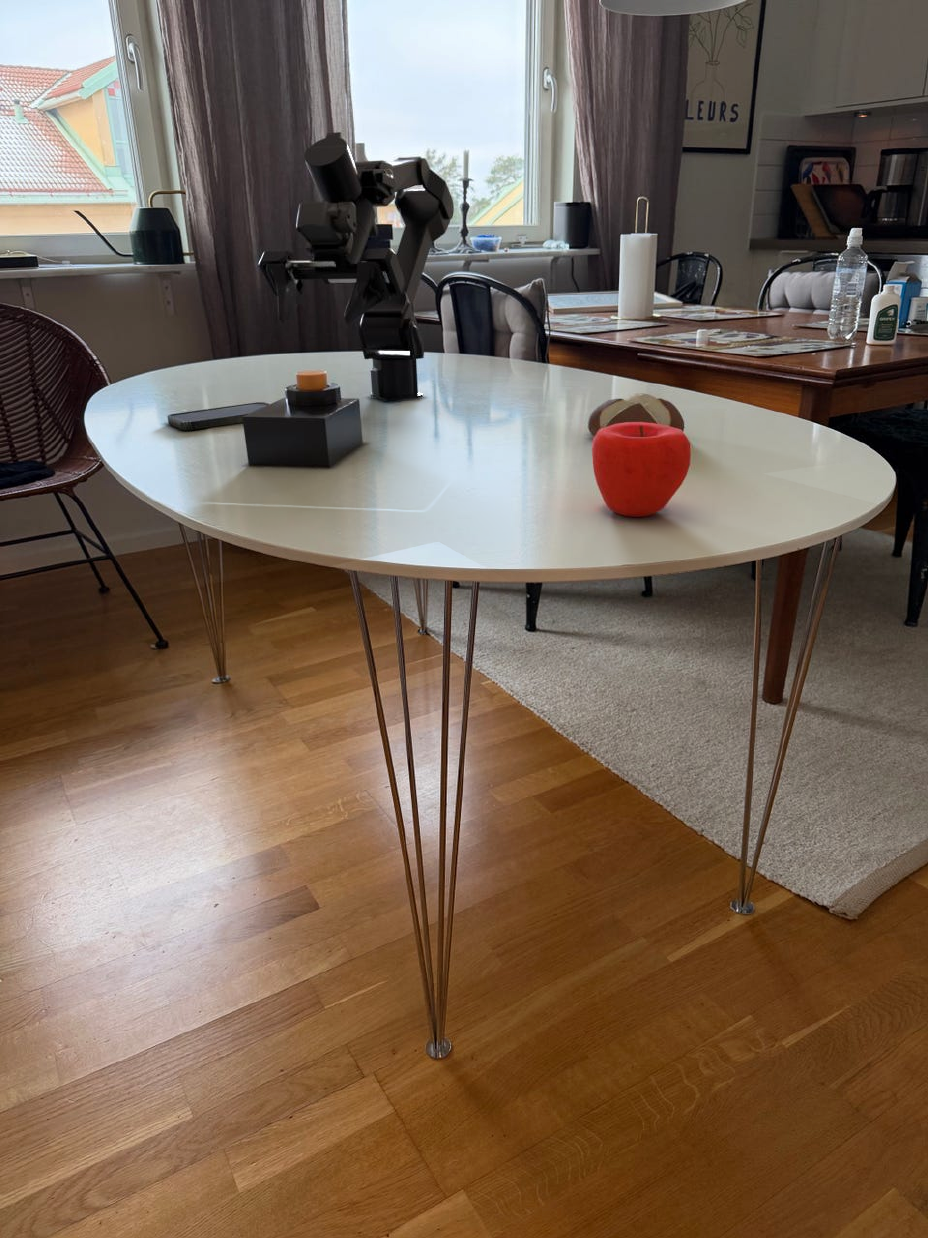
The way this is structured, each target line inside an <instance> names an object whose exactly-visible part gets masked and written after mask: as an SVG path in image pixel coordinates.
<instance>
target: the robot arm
mask: <svg viewBox="0 0 928 1238" xmlns="http://www.w3.org/2000/svg"><path fill="white" fill-rule="evenodd" d="M348 145H349V144H348V143H347V141H346V140H345V138H344V135H343V132H341V131H336V132H335V131H334V132H327V133H326V135H325V137H324V138H322V139H319V140H317V141H316V142H313V144H311V145H310V146H309V147H307V148H306V149H305V151H304V153H303V159H304V161H305V164H306V167H307V170H308V171H309V173H310V174H309V175H310V176H311V179H312V182H313V183H314V185H315V188H316V190H317V193H318V195H319V198H320V200H321V201H315V202H312V201H311V202H300V204H299V205H298V210H297V217H296V223H295V231H296V232H297V233H299V234H300V236H302V237H303V239H304V240H305V241H306V242H307V243H306V245H305V247H304V248H305V250H306V252H307V256H312V260H297V259H296V257H295V255H294V253H293V251H292V250H265V251H263V253H262V255H261V258H260V260H259V262H258V264H257V265H258V267H259V269H260V271H261V273H262V275H263V277H264V279H265V280H266V283H267V284H268V287H269V288H270V290H271V291H272V295H274V296H275V297H277V311H278V320H279V322H280V324H281V325H285V324H286V323H287V322H288V321H289V320H290V318H291V317H292V315H293V314H294V312H295V311H296V309H297V308H298V306H299V304H300V303H301V301H302V300H303V299H302V296H301V295H302V294H303V293H304V291H305V288H306V283H305V281H306V280H307V281H308V280H309V281H310V280H322V281H323V283H324V285H353V284H354V286H353V288H352V290H351V294H350V296H349V300H348V302H347V305H346V307H345V311H344V316H343V319H344V322H345V324H347V325H351V323H353V322H354V321H355V320H357V319H359V318H360V317H361V319H360V320H359V322H358V336H359V337H358V338H359V341H360V346H361V350H362V354H363V358H364V360H372V368H370V380H371V382H370V383H371V393H370V397H371V398H374V399H378V400H380V401H384V402H388V403H389V402H397V401H404V400H411V399H419V398H423V397H424V394H423V393H421V392H419V385H418V383H419V382H418V366H417V363H418V362H417V360H421V359H424V358H425V351H426V349H425V348H426V347H425V346H426V345H425V344H426V343H425V340H424V338H423V335H422V333H421V331H420V329H419V326H418V322H417V319H416V316H415V314H414V311H413V309H412V308H413V304H414V302H415V298H416V295H417V292H418V289H419V286H420V283H421V279H422V277H423V272H424V269H425V266H426V263H427V259H428V256H429V253H430V251H431V250H430V249H431V247H432V244H433V243H434V242H435V241H437V240H438V239H440V238H441V237H442V236H443V235H445V234H446V232H447V230H448V228H449V225H450V223H451V220H452V219H453V218H454V214H455V213H454V212H455V205H454V200H453V197H452V194H451V191H450V189H449V187H448V183H447V182H446V181H445V180H444V179H443V178H442V177H441V176H440V175H438V174H437V173H436V172H435V171H433V170H432V169H431V166H430V164H429V162H428V159H426V157H425V158H424V157H422V156H419V155H418V156H406V157H405V156H404V157H403V156H402V157H398V158H397V159H394V160H392V161H386V160H383V159H382V160H381V159H380V160H365V161H364V160H363V161H354V158H353V157H352V154H351V151H350V148H349V146H348ZM415 186H417V187H418V186H422V188H423V189H411V188H413V187H415ZM407 189H408V190H407ZM392 202H394V205H395V208H396V210H397V212H398V214H399V216H400V219H401V222H402V225H403V230H402V234H401V236H400V237H401V238H400V241H399V243H398V246H397V250H396V252H395V251H394V249H393V248H391V247H390V248H389V247H383V248H382V247H381V248H379V247H377V248H366V245H367V242H368V239H369V238H376V237H378V236H379V230H378V225H377V224H376V221H375V220H376V214H377V213H376V210H375V208H378V207H379V208H382V207H388V206H389V205H390V204H392ZM407 350H408V351H407Z"/></svg>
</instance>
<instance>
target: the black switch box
mask: <svg viewBox="0 0 928 1238" xmlns="http://www.w3.org/2000/svg"><path fill="white" fill-rule="evenodd" d="M284 395H285V397H283V398H281V399H279V400H278V399H277V400H276V401H273V402H271V403H269V405H267V406H265V407H263V408H261V409H258V410H256V411H254V412H252V413H250V414H247V415H245V416H243V417H242V419H243V422H242V427H243V433H244V440H245V446H246V447H245V448H246V455H247V456H246V457H247V464H248V466H250V467H251V466H252V467H284V468H285V467H286V468H315V469H316V468H317V469H319V468H320V469H321V468H323V469H330V468H331V467H333V466H334V465H336V464H337V463H338V462H340V461H341V460H342V459H344V458H345V457H347V456H348V455H349V454H351V453H352V452H354V451H355V450H357V449H358V448H360V446H362V445H363V444H364V441H363V431H362V430H363V429H362V419H361V418H362V417H361V405H360V398H357V397H356V398H350V397H349V398H348V397H347V398H346V397H345V398H344V397H342V392H341V385H340V384H339V383H335V382H329V381H327V388H323V389H313V390H300V389H298V388H297V383H296V384H291V385H288V386H286V387H284Z"/></svg>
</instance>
